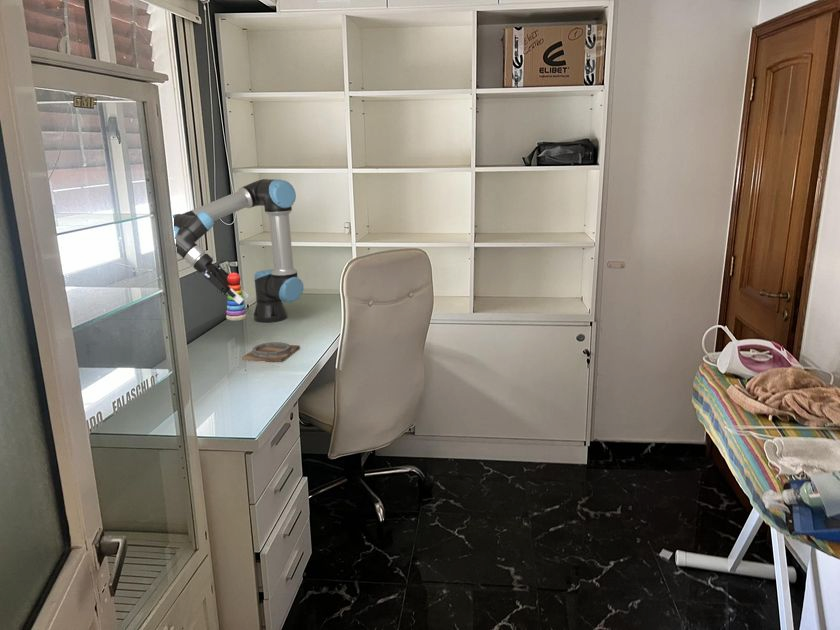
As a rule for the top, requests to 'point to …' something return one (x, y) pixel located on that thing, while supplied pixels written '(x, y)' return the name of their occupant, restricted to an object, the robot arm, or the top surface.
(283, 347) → the collar board
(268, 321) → the robot arm
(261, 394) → the top surface
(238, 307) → the stacking toy
